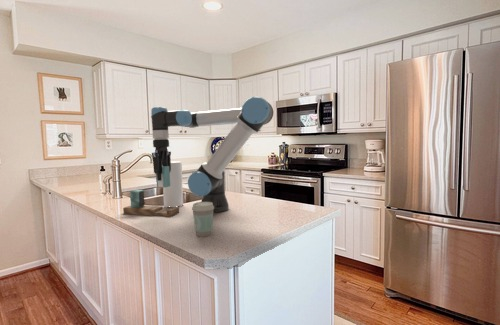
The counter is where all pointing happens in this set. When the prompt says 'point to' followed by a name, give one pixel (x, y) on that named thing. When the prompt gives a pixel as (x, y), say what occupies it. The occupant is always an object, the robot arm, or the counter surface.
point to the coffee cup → (203, 218)
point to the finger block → (165, 176)
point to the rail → (142, 209)
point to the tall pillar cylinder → (174, 186)
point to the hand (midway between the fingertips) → (163, 186)
